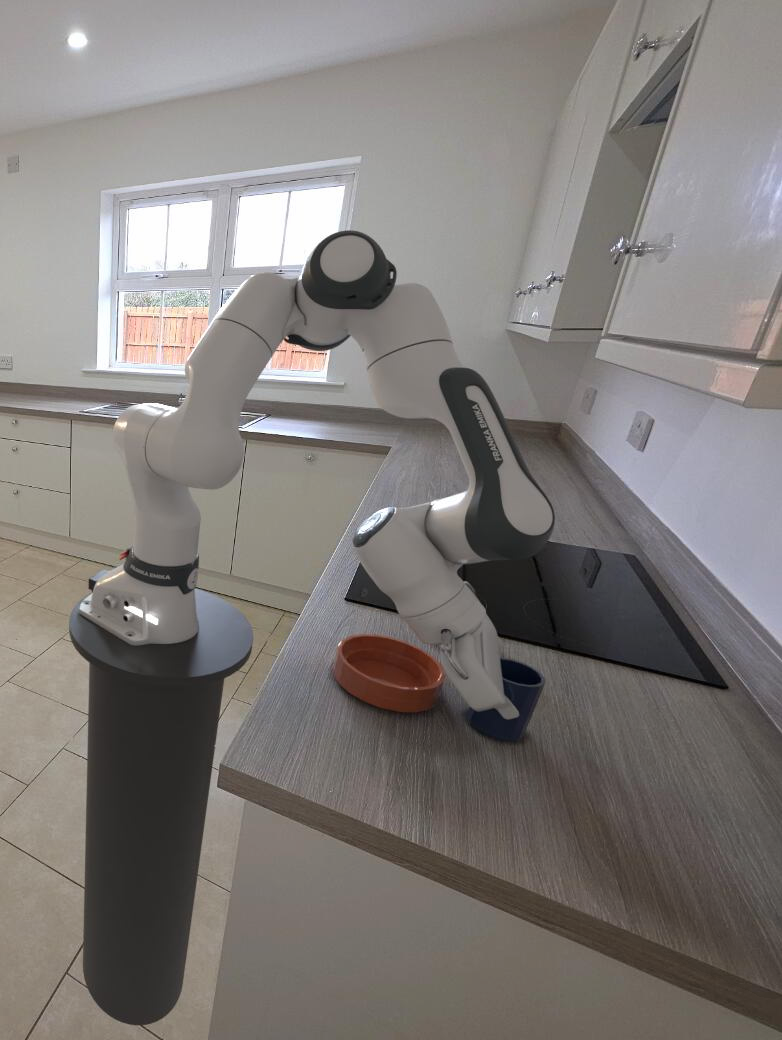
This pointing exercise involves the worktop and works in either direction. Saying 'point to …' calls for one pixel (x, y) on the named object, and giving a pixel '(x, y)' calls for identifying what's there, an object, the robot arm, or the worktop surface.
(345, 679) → the bowl
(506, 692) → the cup
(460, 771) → the worktop surface
